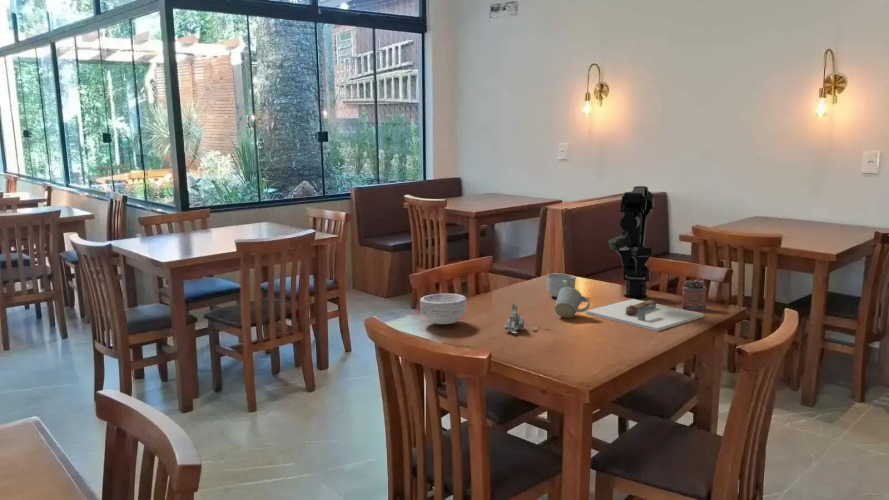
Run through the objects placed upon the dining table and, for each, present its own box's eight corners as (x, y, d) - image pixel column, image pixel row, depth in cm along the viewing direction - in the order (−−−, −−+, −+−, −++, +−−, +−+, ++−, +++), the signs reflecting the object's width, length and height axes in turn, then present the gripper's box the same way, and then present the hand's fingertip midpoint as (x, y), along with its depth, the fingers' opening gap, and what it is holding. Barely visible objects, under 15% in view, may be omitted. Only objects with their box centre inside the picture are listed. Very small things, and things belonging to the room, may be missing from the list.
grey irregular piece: (527, 334, 206) (527, 310, 205) (501, 331, 210) (501, 307, 209) (538, 327, 214) (538, 304, 213) (512, 324, 218) (512, 301, 217)
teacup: (546, 292, 260) (546, 272, 259) (574, 293, 259) (575, 272, 257) (546, 301, 247) (547, 279, 245) (576, 301, 245) (577, 280, 244)
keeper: (637, 319, 216) (638, 308, 216) (651, 315, 221) (651, 304, 220) (641, 320, 215) (642, 309, 214) (655, 316, 220) (656, 305, 219)
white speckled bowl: (433, 313, 232) (433, 290, 231) (473, 317, 226) (473, 294, 224) (412, 324, 219) (411, 300, 217) (454, 329, 212) (454, 305, 211)
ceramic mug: (561, 321, 225) (548, 305, 222) (567, 304, 230) (555, 288, 228) (588, 315, 218) (575, 298, 215) (593, 297, 224) (581, 281, 221)
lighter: (704, 307, 234) (705, 279, 233) (707, 310, 231) (708, 281, 229) (680, 307, 235) (681, 279, 233) (682, 309, 232) (684, 281, 230)
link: (632, 315, 220) (632, 307, 220) (623, 313, 222) (624, 305, 222) (656, 306, 231) (657, 298, 230) (648, 305, 233) (648, 297, 232)
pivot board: (586, 313, 228) (586, 310, 228) (632, 301, 244) (633, 298, 244) (657, 331, 207) (657, 327, 206) (703, 316, 222) (703, 313, 222)
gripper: (599, 225, 242) (598, 268, 244) (624, 232, 224) (622, 278, 226) (628, 224, 244) (626, 266, 247) (654, 231, 226) (652, 276, 229)
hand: (631, 272), depth 237 cm, fingers open, 9 cm apart
